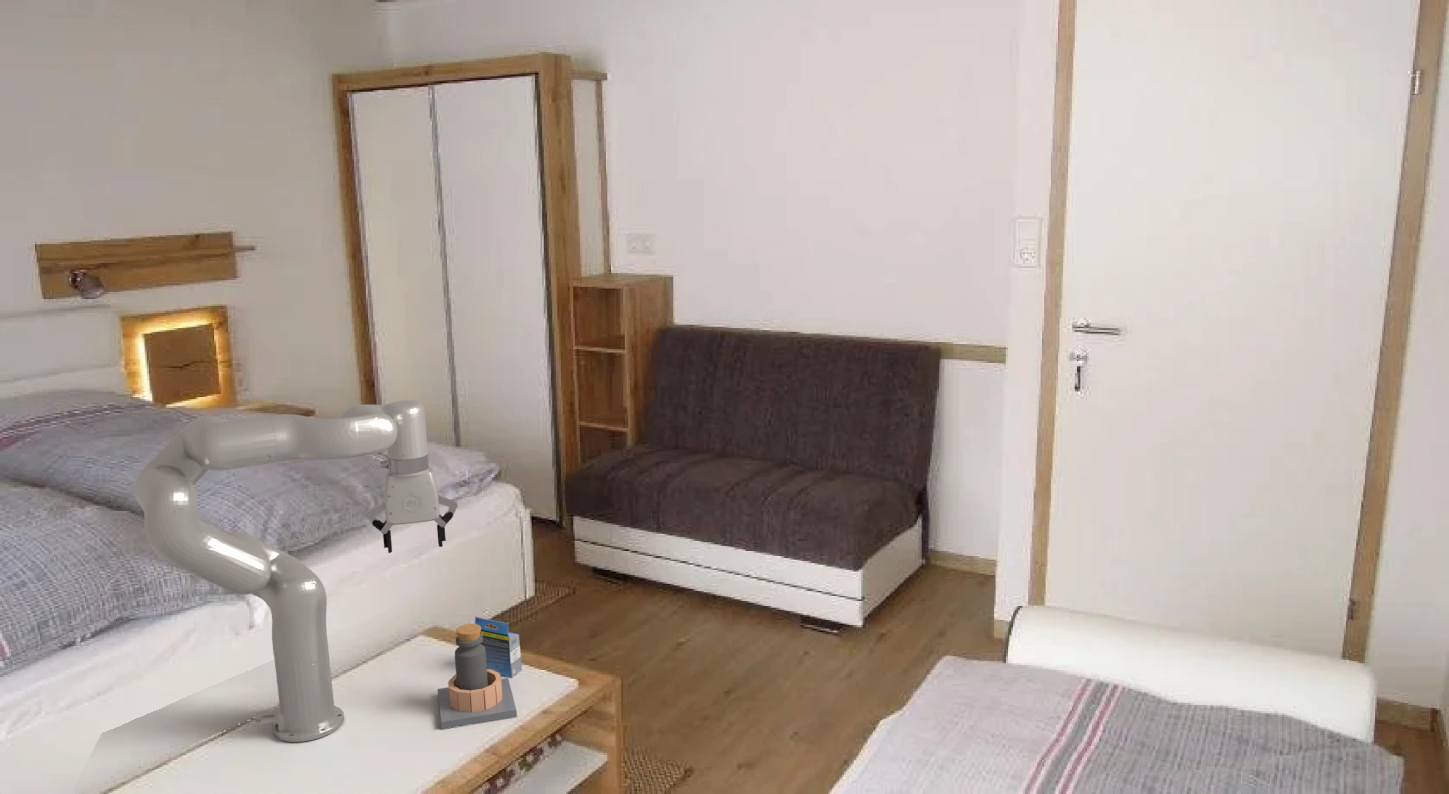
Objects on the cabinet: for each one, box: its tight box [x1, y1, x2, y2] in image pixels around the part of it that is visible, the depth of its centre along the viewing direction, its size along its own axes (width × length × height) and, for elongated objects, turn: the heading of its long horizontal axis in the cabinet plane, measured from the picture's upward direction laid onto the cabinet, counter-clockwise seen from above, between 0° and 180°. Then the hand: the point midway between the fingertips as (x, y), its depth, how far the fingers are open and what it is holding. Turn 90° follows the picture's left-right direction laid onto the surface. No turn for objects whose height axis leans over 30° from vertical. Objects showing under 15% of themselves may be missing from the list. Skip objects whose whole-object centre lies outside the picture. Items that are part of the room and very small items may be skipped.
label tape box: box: [474, 616, 523, 678], centre depth 220 cm, size 9×4×12 cm, turn 65°
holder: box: [437, 669, 518, 730], centre depth 206 cm, size 14×14×6 cm
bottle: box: [454, 623, 488, 690], centre depth 205 cm, size 6×6×15 cm
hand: (415, 547), depth 208 cm, fingers open, 9 cm apart
